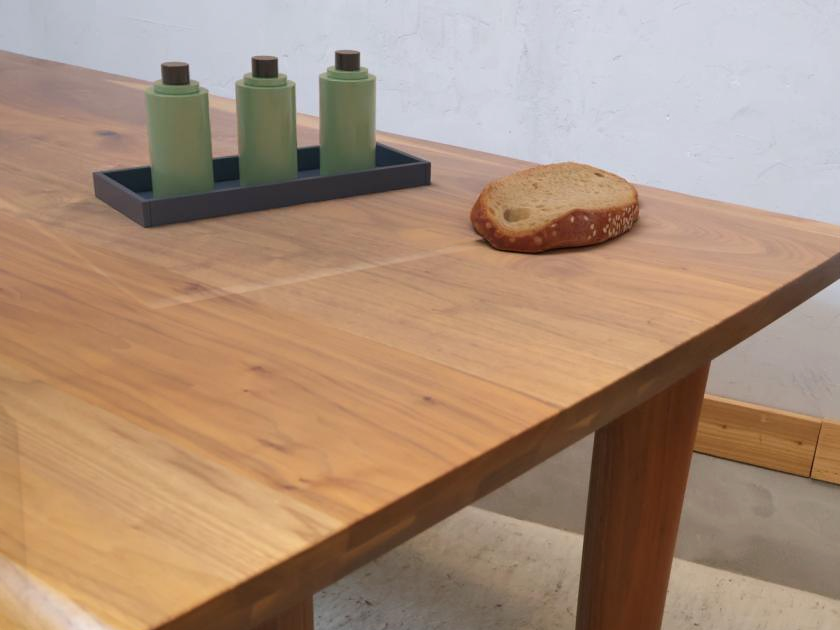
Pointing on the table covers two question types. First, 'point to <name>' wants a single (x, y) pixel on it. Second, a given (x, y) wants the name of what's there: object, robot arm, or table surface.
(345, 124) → the bottle far
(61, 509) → the table surface
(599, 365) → the table surface
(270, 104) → the bottle mid
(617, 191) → the slice of bread
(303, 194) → the tray
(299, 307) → the table surface
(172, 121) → the bottle loose
